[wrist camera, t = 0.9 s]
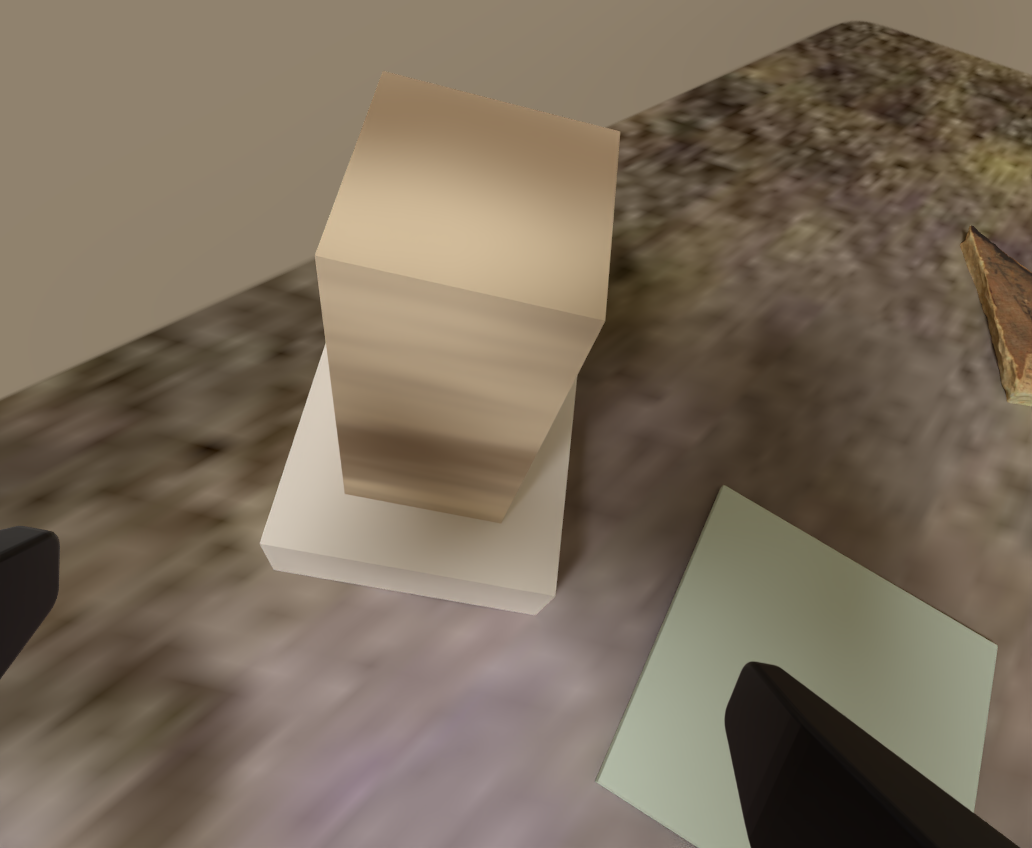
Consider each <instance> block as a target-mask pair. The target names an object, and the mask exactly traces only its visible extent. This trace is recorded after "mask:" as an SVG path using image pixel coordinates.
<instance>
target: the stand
mask: <svg viewBox="0 0 1032 848" xmlns="http://www.w3.org/2000/svg"><path fill="white" fill-rule="evenodd" d="M576 384H577V377H576V379H575V381H574V383H573V385H572V387H571V388H570V390H569V392H568V394H567V396H566V398H565V400H564V402H563V404H562V406H561V408H560V410H559V412H558V414H557V416H556V418H555V420H554V422H553V423H552V425H551V427H550V429H549V431H548V433H547V435H546V437H545V439H544V441H543V443H542V445H541V447H540V449H539V451H538V453H537V455H536V457H535V458H534V460H533V462H532V464H531V466H530V468H529V470H528V472H527V474H526V476H525V478H524V480H523V482H522V484H521V486H520V488H519V490H518V492H517V493H516V495H515V497H514V499H513V501H512V503H511V505H510V507H509V509H508V511H507V513H506V515H505V517H504V519H503V521H502V523H496V522H491V521H486V520H480V519H475V518H470V517H464V516H459V515H454V514H448V513H443V512H438V511H432V510H427V509H422V508H416V507H411V506H406V505H400V504H395V503H390V502H385V501H379V500H374V499H369V498H363V497H358V496H353V495H347V494H345V492H344V484H343V476H342V468H341V460H340V452H339V444H338V436H337V428H336V420H335V412H334V404H333V396H332V388H331V380H330V372H329V364H328V356H327V348H326V344H325V347H324V350H323V353H322V356H321V359H320V362H319V365H318V368H317V371H316V374H315V377H314V380H313V383H312V386H311V389H310V392H309V395H308V398H307V402H306V405H305V408H304V411H303V414H302V417H301V420H300V423H299V426H298V429H297V432H296V435H295V438H294V441H293V444H292V447H291V450H290V453H289V456H288V459H287V462H286V465H285V468H284V471H283V474H282V477H281V480H280V484H279V487H278V490H277V493H276V496H275V499H274V502H273V505H272V508H271V511H270V514H269V517H268V520H267V523H266V526H265V529H264V532H263V535H262V538H261V541H260V545H261V547H262V549H263V551H264V553H265V554H266V556H267V558H268V560H269V562H270V564H271V565H272V567H273V569H274V570H278V571H283V572H289V573H295V574H300V575H306V576H312V577H318V578H323V579H329V580H335V581H341V582H346V583H352V584H358V585H364V586H369V587H375V588H381V589H387V590H392V591H398V592H404V593H410V594H415V595H421V596H427V597H432V598H438V599H444V600H450V601H455V602H461V603H467V604H473V605H478V606H484V607H490V608H496V609H501V610H507V611H513V612H519V613H524V614H530V615H536V614H537V613H538V612H539V611H540V610H541V609H542V608H543V607H544V606H546V605H547V604H548V603H549V602H550V601H551V600H552V599H553V598H554V597H555V595H556V585H557V575H558V565H559V555H560V545H561V535H562V525H563V514H564V504H565V494H566V484H567V474H568V464H569V454H570V444H571V434H572V424H573V414H574V404H575V394H576Z"/></svg>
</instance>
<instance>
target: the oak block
mask: <svg viewBox="0 0 1032 848" xmlns="http://www.w3.org/2000/svg"><path fill="white" fill-rule="evenodd" d="M619 140H620V131H616V130H612V129H608V128H604V127H600V126H596V125H592V124H588V123H585V122H580V121H577V120H573V119H569V118H565V117H561V116H557V115H553V114H549V113H545V112H542V111H537V110H534V109H530V108H525V107H522V106H518V105H514V104H510V103H506V102H502V101H498V100H495V99H491V98H487V97H483V96H479V95H475V94H471V93H467V92H463V91H459V90H456V89H451V88H448V87H443V86H440V85H436V84H432V83H428V82H424V81H420V80H416V79H412V78H409V77H405V76H401V75H397V74H393V73H389V72H385V71H383V72H382V75H381V78H380V80H379V83H378V86H377V88H376V91H375V94H374V97H373V99H372V102H371V105H370V108H369V110H368V113H367V116H366V118H365V121H364V124H363V126H362V129H361V132H360V135H359V137H358V140H357V143H356V145H355V148H354V151H353V154H352V157H351V159H350V162H349V165H348V167H347V170H346V173H345V175H344V178H343V181H342V184H341V186H340V189H339V192H338V194H337V197H336V200H335V203H334V205H333V208H332V211H331V214H330V216H329V219H328V222H327V225H326V227H325V230H324V232H323V235H322V238H321V241H320V244H319V246H318V249H317V252H316V254H315V260H316V268H317V276H318V284H319V292H320V300H321V308H322V316H323V324H324V332H325V340H326V348H327V356H328V364H329V372H330V380H331V388H332V396H333V404H334V412H335V420H336V428H337V436H338V444H339V452H340V460H341V468H342V476H343V484H344V492H345V494H347V495H353V496H358V497H363V498H369V499H374V500H379V501H385V502H390V503H395V504H400V505H406V506H411V507H416V508H422V509H427V510H432V511H438V512H443V513H448V514H454V515H459V516H464V517H470V518H475V519H480V520H486V521H491V522H496V523H502V521H503V519H504V517H505V515H506V513H507V511H508V509H509V507H510V505H511V503H512V501H513V499H514V497H515V495H516V493H517V492H518V490H519V488H520V486H521V484H522V482H523V480H524V478H525V476H526V474H527V472H528V470H529V468H530V466H531V464H532V462H533V460H534V458H535V457H536V455H537V453H538V451H539V449H540V447H541V445H542V443H543V441H544V439H545V437H546V435H547V433H548V431H549V429H550V427H551V425H552V423H553V422H554V420H555V418H556V416H557V414H558V412H559V410H560V408H561V406H562V404H563V402H564V400H565V398H566V396H567V394H568V392H569V390H570V388H571V387H572V385H573V383H574V381H575V379H576V377H577V375H578V373H579V371H580V369H581V367H582V365H583V363H584V361H585V359H586V357H587V355H588V353H589V352H590V350H591V348H592V346H593V344H594V342H595V340H596V338H597V336H598V334H599V332H600V330H601V328H602V326H603V324H604V322H605V318H606V305H607V293H608V280H609V267H610V255H611V242H612V229H613V216H614V204H615V191H616V178H617V165H618V153H619Z"/></svg>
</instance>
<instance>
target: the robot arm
mask: <svg viewBox="0 0 1032 848" xmlns="http://www.w3.org/2000/svg"><path fill="white" fill-rule="evenodd" d="M59 559H60V543H59V539H58V536H57V535H56V534H55V533H54V532H52V531H47V530H42V529H37V528H31V527H26V526H16V527H11V528H7V529H3V530H0V679H1V677H2V676H3V675H4V673H5V672H6V671H7V669H8V668H9V667H10V665H11V664H12V662H13V661H14V660H15V658H16V657H17V656H18V654H19V653H20V652H21V650H22V649H23V648H24V646H25V645H26V643H27V642H28V641H29V639H30V638H31V637H32V635H33V634H34V633H35V631H36V630H37V629H38V627H39V626H40V624H41V623H42V622H43V620H44V619H45V618H46V616H47V615H48V614H49V612H50V611H51V609H52V608H53V606H54V604H55V601H56V599H57V595H58V591H59ZM724 722H725V731H726V736H727V740H728V745H729V750H730V755H731V760H732V765H733V770H734V775H735V779H736V784H737V789H738V794H739V799H740V804H741V809H742V813H743V818H744V823H745V827H746V831H747V836H748V840H749V843H750V847H751V848H1020V847H1018V846H1017V845H1016V844H1014V843H1013V842H1012V841H1010V840H1009V839H1008V838H1006V837H1005V836H1004V835H1002V834H1001V833H1000V832H998V831H997V830H996V829H994V828H993V827H992V826H990V825H989V824H988V823H986V822H985V821H984V820H982V819H981V818H980V817H978V816H977V815H976V814H975V813H973V812H972V811H971V810H969V809H968V808H967V807H965V806H964V805H963V804H961V803H960V802H959V801H957V800H956V799H955V798H953V797H952V796H951V795H949V794H948V793H947V792H945V791H944V790H943V789H941V788H940V787H939V786H937V785H936V784H935V783H933V782H932V781H931V780H929V779H928V778H927V777H925V776H924V775H923V774H921V773H920V772H919V771H917V770H916V769H915V768H913V767H912V766H911V765H909V764H908V763H907V762H905V761H904V760H903V759H901V758H900V757H899V756H897V755H896V754H895V753H893V752H892V751H891V750H889V749H888V748H887V747H885V746H884V745H883V744H882V743H880V742H879V741H878V740H876V739H875V738H874V737H872V736H871V735H870V734H868V733H867V732H866V731H864V730H863V729H862V728H860V727H859V726H858V725H856V724H855V723H854V722H852V721H851V720H850V719H848V718H847V717H846V716H844V715H843V714H842V713H840V712H839V711H838V710H836V709H835V708H834V707H832V706H831V705H830V704H828V703H827V702H826V701H824V700H823V699H822V698H820V697H819V696H818V695H816V694H815V693H814V692H812V691H811V690H810V689H808V688H807V687H806V686H804V685H803V684H802V683H800V682H799V681H798V680H796V679H795V678H794V677H792V676H791V675H790V674H789V673H787V672H786V671H785V670H783V669H782V668H780V667H779V666H776V665H772V664H766V663H761V662H755V661H751V662H748V663H746V664H745V665H744V667H743V668H742V670H741V672H740V675H739V677H738V680H737V682H736V685H735V687H734V690H733V692H732V694H731V697H730V699H729V702H728V704H727V707H726V711H725V718H724Z"/></svg>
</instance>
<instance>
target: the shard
mask: <svg viewBox="0 0 1032 848" xmlns="http://www.w3.org/2000/svg"><path fill="white" fill-rule="evenodd" d="M960 247H961V250H962V252H963V255H964V258H965V261H966V264H967V267H968V270H969V272H970V274H971V276H972V278H973V281H974V284H975V286H976V288H977V292H978V295H979V299H980V302H981V303H982V309H983V311H984V313H985V314H986V316H987V318H988V326H989V329H990V334H991V336H992V343H993V345H994V349H995V351H996V357H997V360H998V367H999V370H1000V377H1001V383H1002V386H1003V388H1004V389H1005V391H1006V397H1007V402H1009V403H1014V404H1023V405H1027V406H1032V272H1030V271H1029V270H1028V269H1026V268H1025V267H1023V266H1022V265H1020V264H1019V263H1018V262H1017V261H1015V260H1014V259H1013V258H1011V257H1009V256H1008V255H1007V254H1006V253H1004V252H1003V251H1002V250H1000V249H999V248H998V247H997V246H996V245H995V244H994V243H992V242H990V240H989V239H988V238H987V237H985V236H984V235H982V234H981V233H980V232H978V230H977V229H976V228H975V227H974V226H970V227H969V231H968V234H967V236H966V240H965V241H964V242H962V243H961V244H960Z"/></svg>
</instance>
